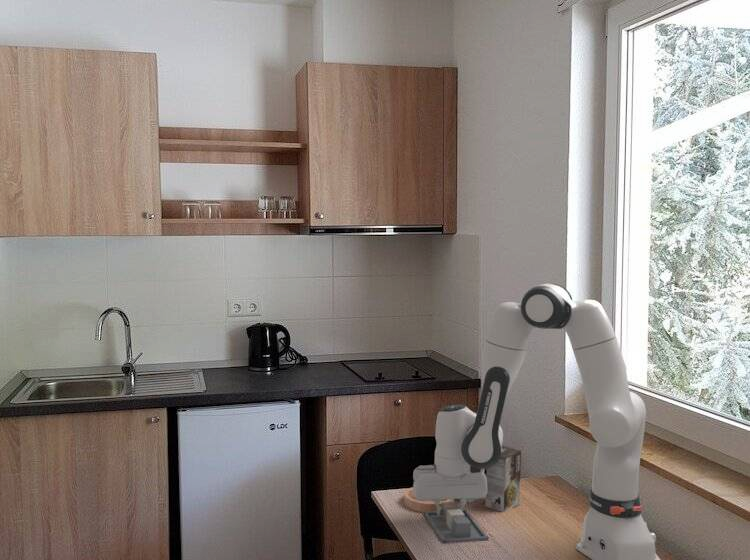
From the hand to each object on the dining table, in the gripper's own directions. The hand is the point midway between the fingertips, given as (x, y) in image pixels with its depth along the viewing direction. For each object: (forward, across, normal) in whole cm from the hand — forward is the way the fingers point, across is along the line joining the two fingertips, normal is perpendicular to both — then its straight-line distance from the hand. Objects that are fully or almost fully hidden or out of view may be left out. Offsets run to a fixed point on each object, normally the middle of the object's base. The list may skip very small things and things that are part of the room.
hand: (449, 513), depth 214 cm
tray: (+2, 0, -6) cm, 6 cm away
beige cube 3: (+1, 0, -6) cm, 6 cm away
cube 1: (+1, 0, 0) cm, 1 cm away
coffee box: (+2, +18, +8) cm, 20 cm away
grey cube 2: (+1, 0, -11) cm, 11 cm away
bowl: (+2, -2, +12) cm, 12 cm away
